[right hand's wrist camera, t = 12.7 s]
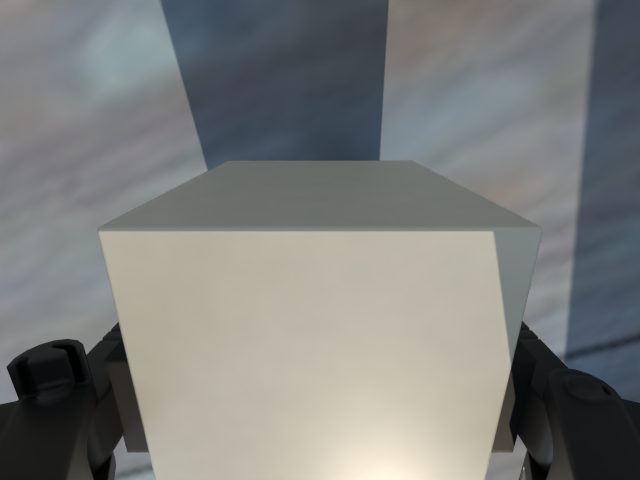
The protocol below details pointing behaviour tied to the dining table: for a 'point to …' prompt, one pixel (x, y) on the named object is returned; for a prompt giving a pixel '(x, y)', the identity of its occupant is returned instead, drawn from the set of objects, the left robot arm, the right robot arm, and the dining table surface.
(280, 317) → the block
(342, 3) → the dining table surface
